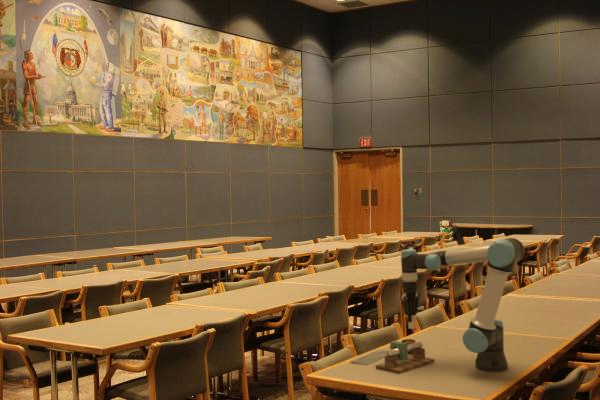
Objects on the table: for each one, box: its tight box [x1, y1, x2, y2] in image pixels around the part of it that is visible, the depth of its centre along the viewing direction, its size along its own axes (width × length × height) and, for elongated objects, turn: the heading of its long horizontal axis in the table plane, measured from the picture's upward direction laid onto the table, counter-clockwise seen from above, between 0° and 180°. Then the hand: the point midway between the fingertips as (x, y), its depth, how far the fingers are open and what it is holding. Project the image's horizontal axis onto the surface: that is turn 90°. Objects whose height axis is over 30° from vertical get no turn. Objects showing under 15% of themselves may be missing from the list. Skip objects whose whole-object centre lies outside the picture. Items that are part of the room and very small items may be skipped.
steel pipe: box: [387, 341, 423, 357], centre depth 338 cm, size 24×3×3 cm, turn 133°
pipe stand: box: [375, 347, 435, 375], centre depth 338 cm, size 28×14×6 cm, turn 133°
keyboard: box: [350, 348, 388, 366], centre depth 354 cm, size 29×10×2 cm, turn 145°
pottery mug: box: [401, 338, 416, 355], centre depth 363 cm, size 12×10×8 cm
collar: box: [389, 340, 409, 361], centre depth 334 cm, size 3×8×8 cm, turn 43°
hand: (411, 328), depth 341 cm, fingers closed
